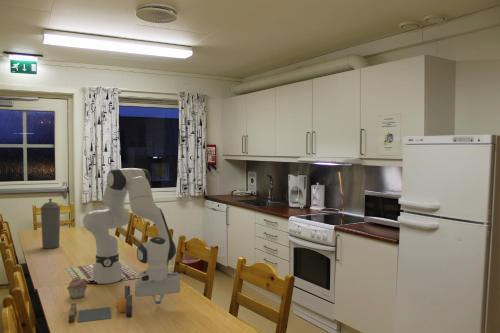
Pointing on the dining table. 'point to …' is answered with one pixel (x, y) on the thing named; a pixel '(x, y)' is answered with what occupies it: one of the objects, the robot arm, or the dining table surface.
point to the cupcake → (77, 287)
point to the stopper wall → (72, 313)
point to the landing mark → (94, 314)
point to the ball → (121, 305)
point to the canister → (50, 224)
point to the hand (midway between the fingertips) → (157, 303)
